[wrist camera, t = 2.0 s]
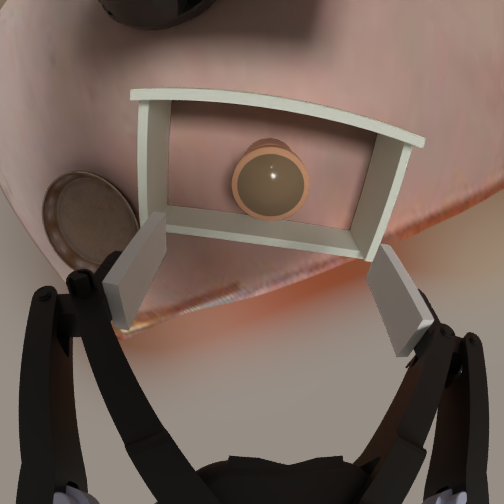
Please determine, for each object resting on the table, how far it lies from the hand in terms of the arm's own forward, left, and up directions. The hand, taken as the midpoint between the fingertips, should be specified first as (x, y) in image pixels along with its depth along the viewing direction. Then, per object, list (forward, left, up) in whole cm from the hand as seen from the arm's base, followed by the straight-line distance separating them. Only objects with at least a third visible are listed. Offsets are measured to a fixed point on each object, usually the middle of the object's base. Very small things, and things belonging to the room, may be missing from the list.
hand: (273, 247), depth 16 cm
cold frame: (0, 0, -18) cm, 18 cm away
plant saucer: (+11, -24, -18) cm, 32 cm away
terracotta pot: (0, 0, -18) cm, 18 cm away
